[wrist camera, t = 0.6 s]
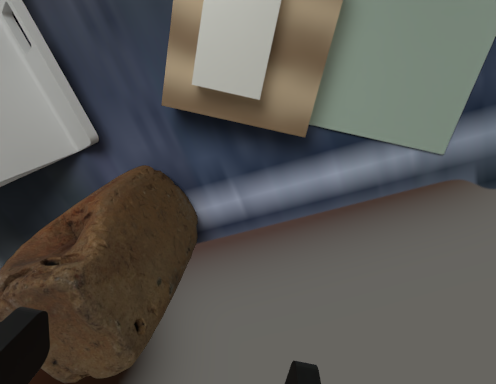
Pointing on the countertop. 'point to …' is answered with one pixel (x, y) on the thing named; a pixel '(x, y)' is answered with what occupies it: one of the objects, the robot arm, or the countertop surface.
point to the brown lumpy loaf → (104, 273)
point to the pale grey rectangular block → (235, 45)
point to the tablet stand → (34, 101)
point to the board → (277, 73)
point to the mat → (404, 69)
